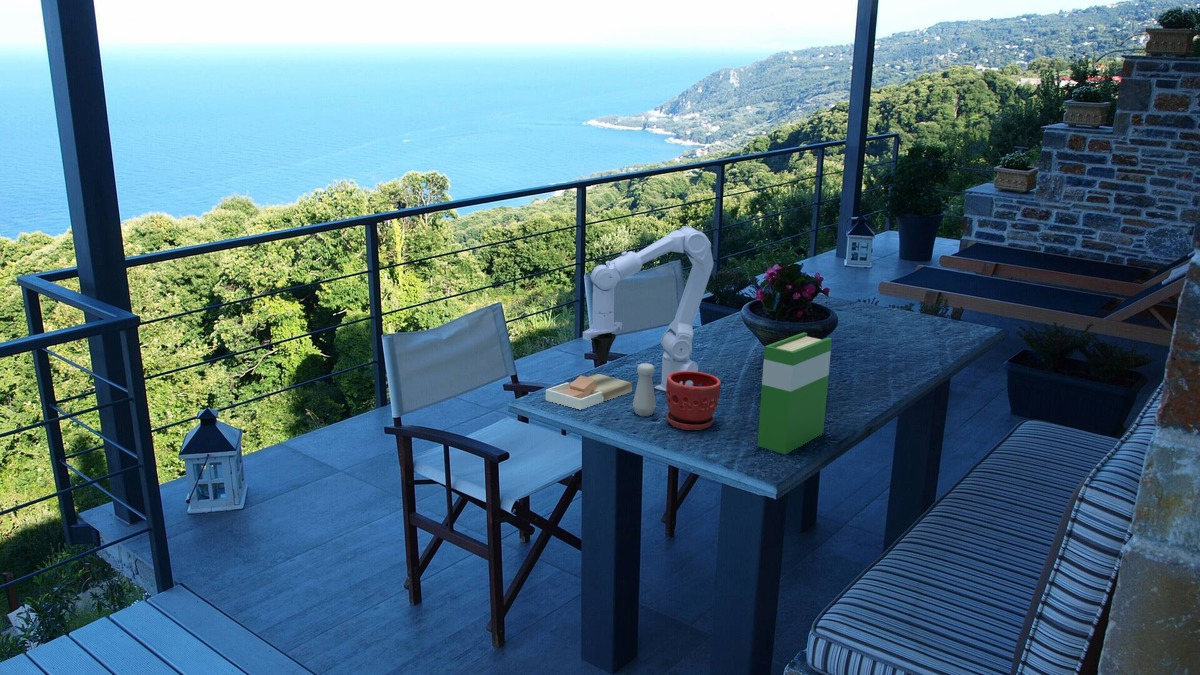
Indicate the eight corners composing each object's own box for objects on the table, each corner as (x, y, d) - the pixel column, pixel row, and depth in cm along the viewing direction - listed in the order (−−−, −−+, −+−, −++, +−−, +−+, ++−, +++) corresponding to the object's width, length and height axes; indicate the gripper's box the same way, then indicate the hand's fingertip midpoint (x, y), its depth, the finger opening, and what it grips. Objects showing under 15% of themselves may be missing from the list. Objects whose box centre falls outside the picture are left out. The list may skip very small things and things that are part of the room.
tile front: (584, 401, 244) (584, 392, 243) (572, 406, 240) (572, 396, 239) (570, 397, 247) (570, 388, 246) (557, 401, 243) (557, 392, 242)
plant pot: (680, 436, 222) (682, 388, 219) (655, 418, 234) (657, 372, 231) (728, 430, 227) (731, 383, 224) (701, 412, 239) (703, 367, 236)
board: (631, 391, 254) (632, 382, 253) (603, 402, 245) (604, 393, 244) (597, 382, 261) (597, 373, 260) (569, 392, 252) (569, 383, 251)
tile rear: (597, 387, 247) (595, 379, 246) (585, 397, 244) (583, 389, 243) (582, 383, 250) (580, 375, 249) (570, 392, 247) (568, 384, 246)
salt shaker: (639, 419, 233) (641, 369, 230) (628, 412, 238) (630, 362, 235) (659, 415, 236) (661, 366, 232) (648, 408, 241) (650, 360, 237)
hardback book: (795, 426, 231) (803, 332, 224) (823, 434, 226) (832, 338, 220) (757, 445, 218) (764, 346, 211) (785, 454, 213) (793, 352, 207)
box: (603, 402, 245) (603, 391, 244) (580, 411, 238) (580, 399, 237) (568, 392, 252) (568, 381, 251) (545, 400, 245) (545, 389, 244)
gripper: (608, 304, 255) (607, 352, 258) (573, 313, 244) (573, 363, 248) (629, 308, 251) (627, 356, 254) (595, 318, 240) (594, 368, 243)
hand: (602, 360), depth 251 cm, fingers closed
